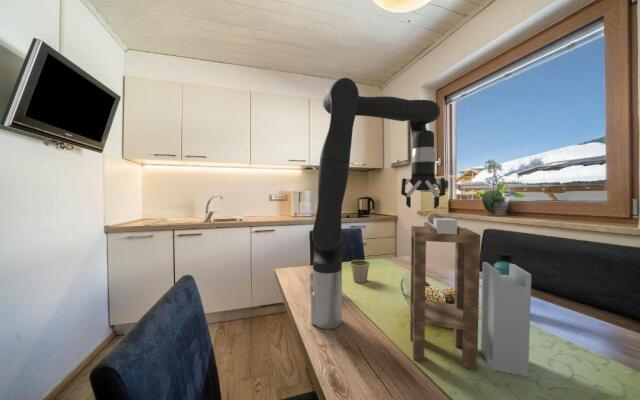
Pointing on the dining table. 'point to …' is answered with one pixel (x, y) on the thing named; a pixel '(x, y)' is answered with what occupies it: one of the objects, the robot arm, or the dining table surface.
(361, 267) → the flower pot
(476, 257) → the walnut stand
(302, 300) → the dining table surface
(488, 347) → the box
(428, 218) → the light grey bar
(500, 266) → the beverage bottle
